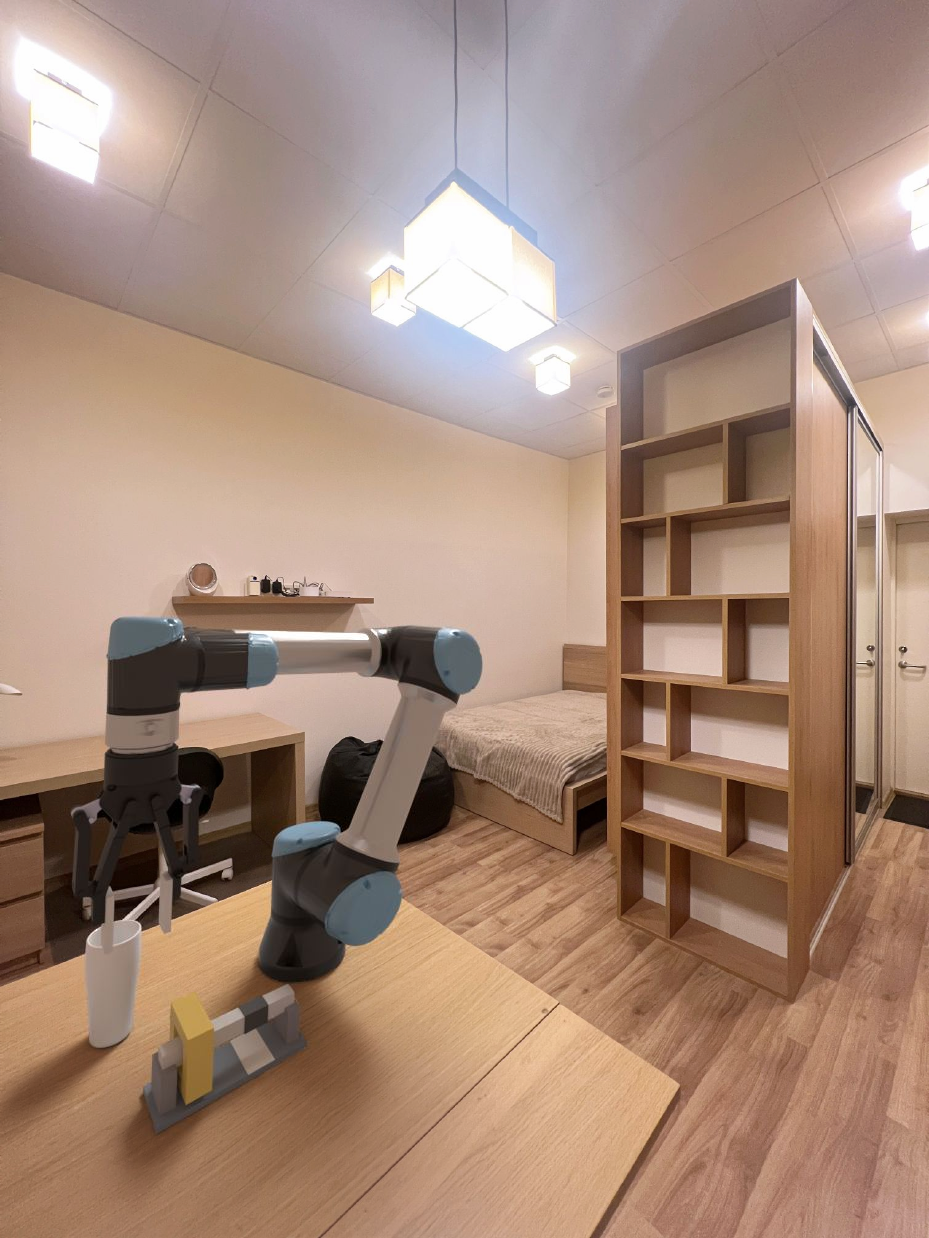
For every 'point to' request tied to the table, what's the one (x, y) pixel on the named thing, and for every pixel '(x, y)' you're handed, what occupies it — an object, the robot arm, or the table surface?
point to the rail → (228, 1054)
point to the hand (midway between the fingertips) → (136, 936)
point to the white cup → (112, 983)
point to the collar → (193, 1046)
